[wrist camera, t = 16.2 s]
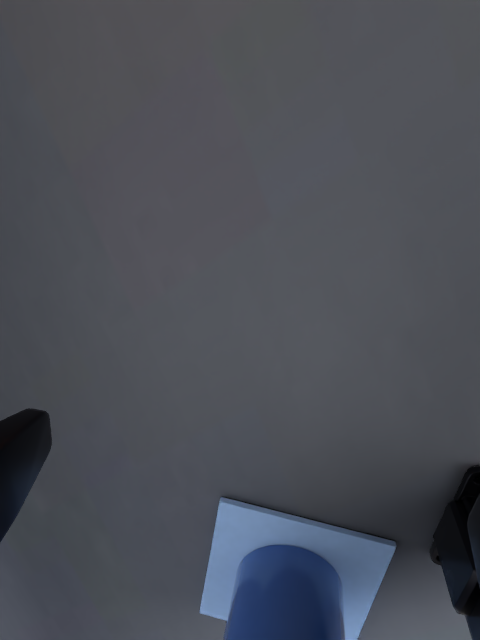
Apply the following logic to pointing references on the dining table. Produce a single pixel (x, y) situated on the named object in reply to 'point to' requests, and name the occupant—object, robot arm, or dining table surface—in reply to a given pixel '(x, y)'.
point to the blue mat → (284, 529)
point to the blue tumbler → (285, 597)
